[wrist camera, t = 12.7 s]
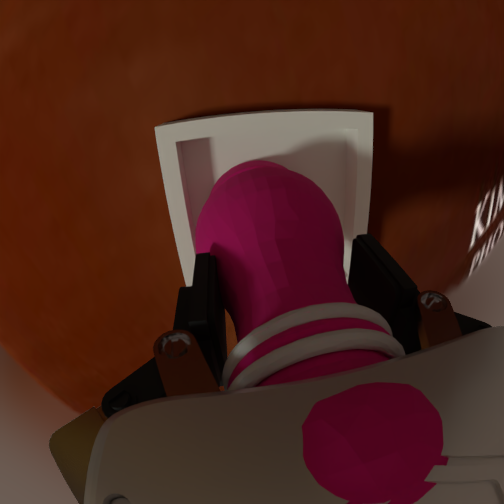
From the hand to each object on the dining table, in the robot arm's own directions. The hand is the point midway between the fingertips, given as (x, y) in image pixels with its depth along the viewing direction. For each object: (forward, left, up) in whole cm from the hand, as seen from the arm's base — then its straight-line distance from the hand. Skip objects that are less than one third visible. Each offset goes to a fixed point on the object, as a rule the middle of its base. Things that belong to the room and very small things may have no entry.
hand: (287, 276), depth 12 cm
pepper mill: (0, 0, -8) cm, 8 cm away
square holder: (0, 0, -8) cm, 8 cm away
